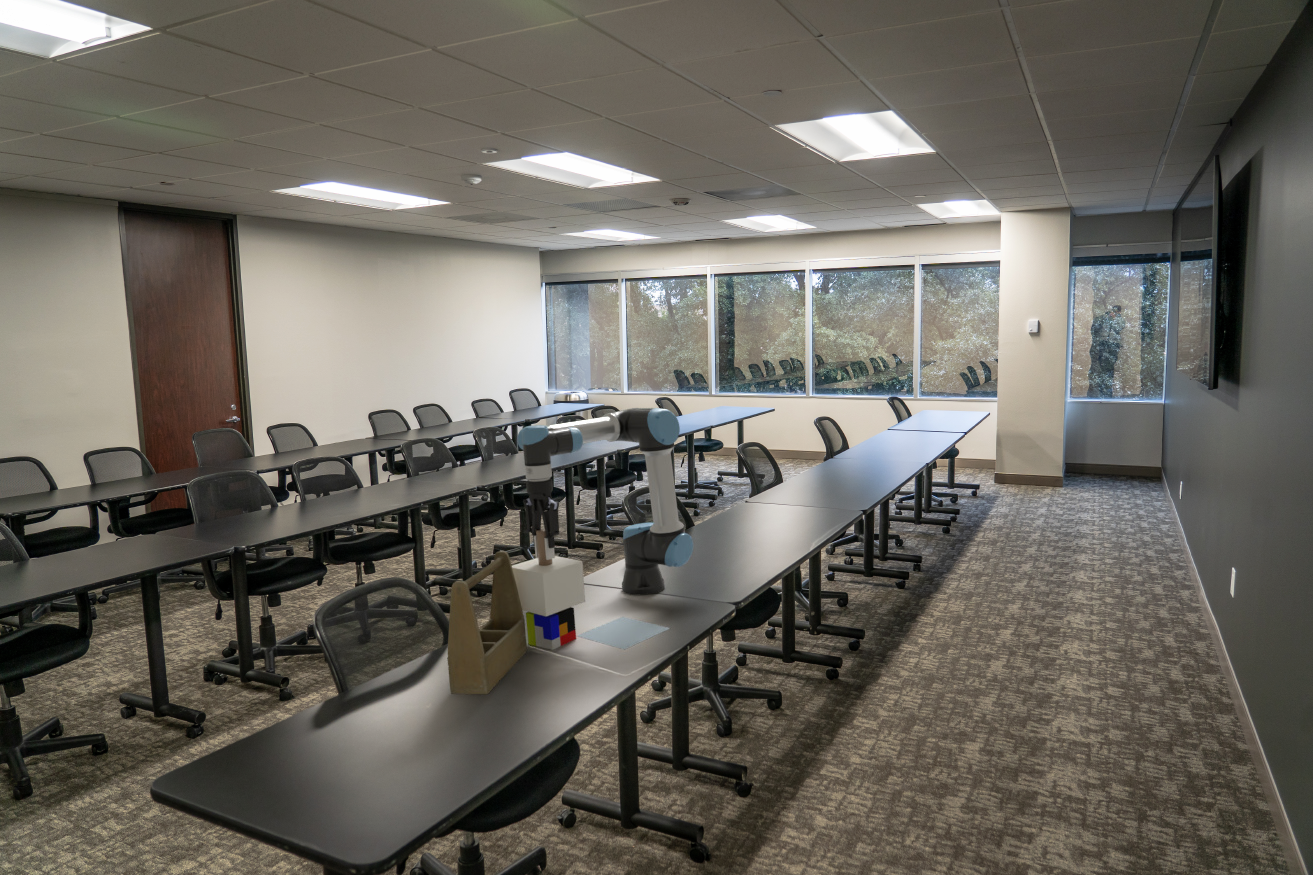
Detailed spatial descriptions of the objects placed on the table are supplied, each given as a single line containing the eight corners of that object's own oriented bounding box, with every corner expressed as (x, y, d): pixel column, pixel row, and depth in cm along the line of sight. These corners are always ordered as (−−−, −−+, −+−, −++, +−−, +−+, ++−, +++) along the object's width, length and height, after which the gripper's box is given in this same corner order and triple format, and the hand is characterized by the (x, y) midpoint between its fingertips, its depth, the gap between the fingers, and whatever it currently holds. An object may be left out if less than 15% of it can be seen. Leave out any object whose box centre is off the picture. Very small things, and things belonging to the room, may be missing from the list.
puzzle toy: (552, 651, 240) (550, 617, 238) (528, 645, 246) (525, 612, 244) (576, 640, 247) (573, 607, 246) (552, 634, 253) (549, 602, 252)
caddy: (488, 695, 212) (477, 581, 209) (449, 693, 214) (438, 581, 211) (528, 651, 241) (519, 550, 237) (493, 651, 243) (484, 551, 239)
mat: (622, 617, 264) (622, 616, 264) (670, 629, 251) (670, 628, 251) (576, 637, 250) (576, 635, 250) (624, 650, 236) (624, 649, 236)
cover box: (551, 593, 256) (545, 522, 253) (585, 601, 245) (579, 527, 243) (512, 607, 244) (505, 533, 242) (546, 616, 234) (539, 539, 232)
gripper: (510, 479, 243) (516, 556, 246) (548, 483, 232) (554, 564, 235) (530, 475, 249) (536, 551, 252) (568, 478, 238) (574, 558, 240)
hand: (545, 557), depth 243 cm, fingers closed on cover box, 4 cm apart
